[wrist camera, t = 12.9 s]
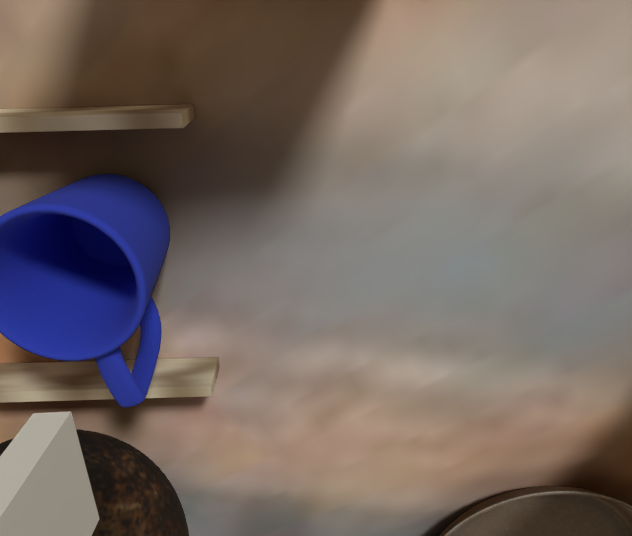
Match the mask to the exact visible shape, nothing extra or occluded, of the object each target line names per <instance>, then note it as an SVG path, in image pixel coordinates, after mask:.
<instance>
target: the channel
mask: <svg viewBox="0 0 632 536" xmlns="http://www.w3.org/2000/svg"><path fill="white" fill-rule="evenodd" d="M193 119H194V108H193V104H188V105H148V106H107V107H67V108H27V109H0V133H4V132H44V131H83V130H123V129H163V128H184V127H185V126H186V125H187V124H189V123H190V122H191V121H192V120H193ZM124 361H125V363H126V365H127V367H128V368H129V370H130V372H132V370H133V367H134V364H135V361H136V360H124ZM218 371H219V358H218V357H212V358H178V359H157V363H156V367H155V370H154V374H153V377H152V380H151V383H150V386H149V390H148V393H147V395H146V398H170V397H204V396H212V395H213V391H214V387H215V383H216V379H217V375H218ZM103 399H114V397H113V396H112V394H111V393H110V391H109V389H108V387H107V385H106V383H105V382H104V380H103V378H102V376H101V374H100V371H99V369H98V366H97V363H96V361H74V362H40V363H6V364H0V403H2V402H36V401H69V400H103Z"/></svg>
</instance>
